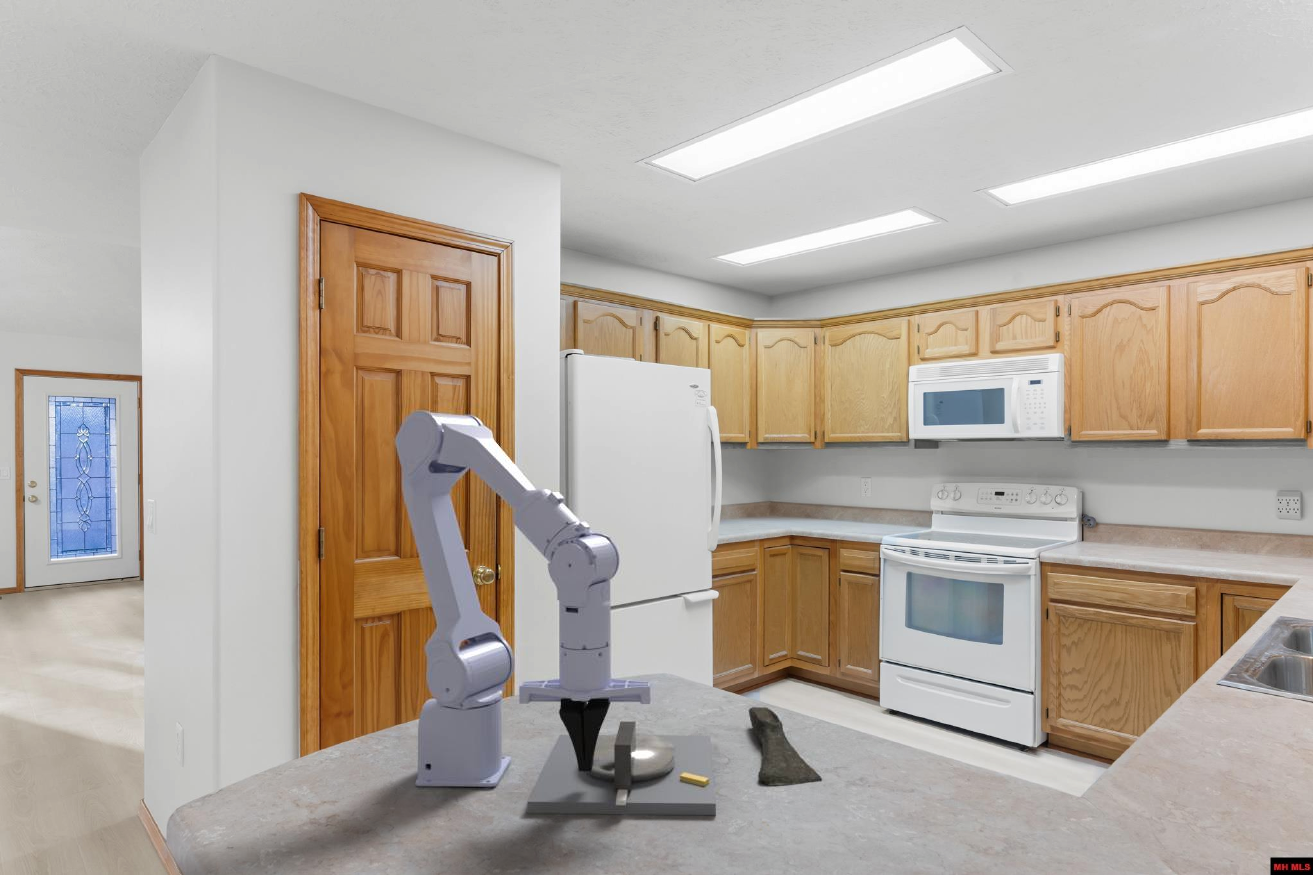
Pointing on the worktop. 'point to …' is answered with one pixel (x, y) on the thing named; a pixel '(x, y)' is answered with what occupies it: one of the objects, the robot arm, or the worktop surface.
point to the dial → (631, 757)
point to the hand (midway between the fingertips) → (585, 767)
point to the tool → (778, 752)
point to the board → (663, 795)
